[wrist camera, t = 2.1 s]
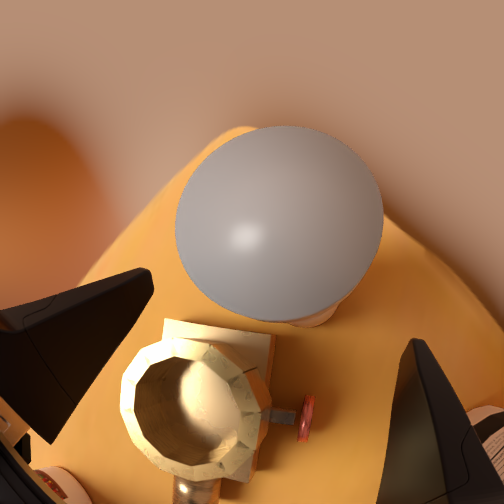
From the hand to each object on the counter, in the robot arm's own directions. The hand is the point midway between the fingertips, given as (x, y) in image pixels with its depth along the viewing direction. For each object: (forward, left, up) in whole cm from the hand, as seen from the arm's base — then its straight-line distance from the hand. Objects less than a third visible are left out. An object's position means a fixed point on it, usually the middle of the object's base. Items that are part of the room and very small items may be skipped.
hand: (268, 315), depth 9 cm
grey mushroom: (+2, -2, -10) cm, 10 cm away
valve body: (-4, +7, -10) cm, 13 cm away
